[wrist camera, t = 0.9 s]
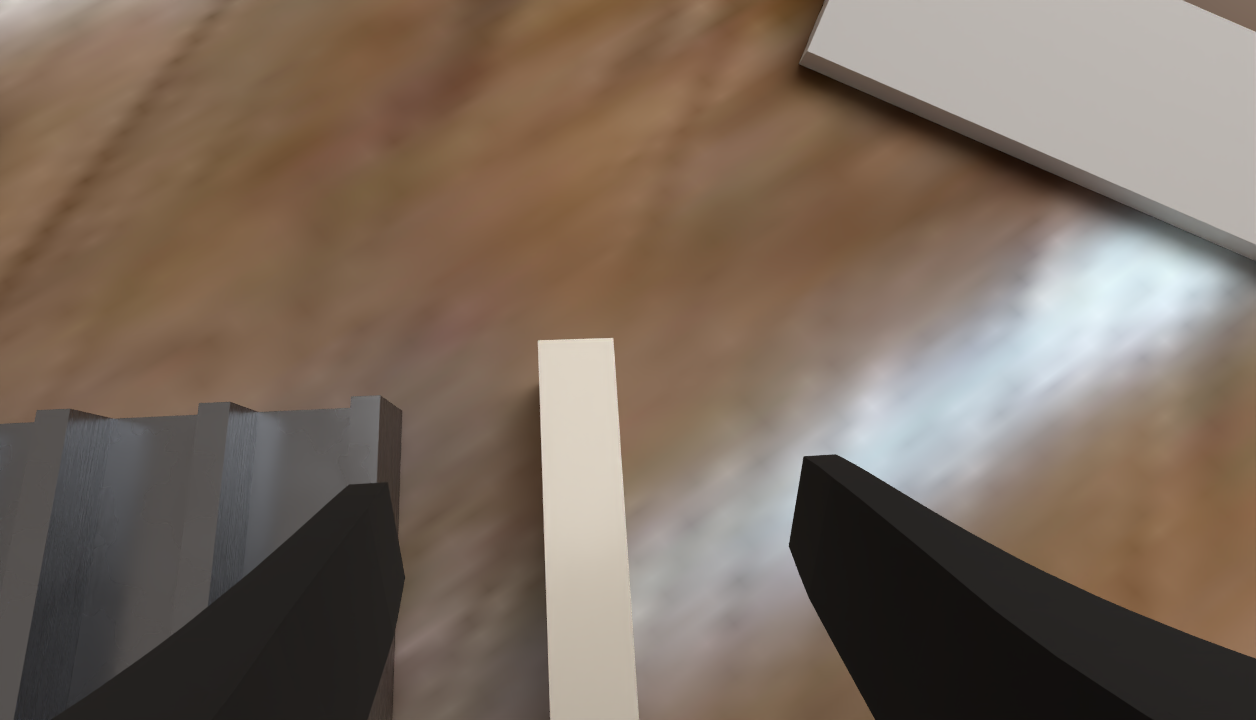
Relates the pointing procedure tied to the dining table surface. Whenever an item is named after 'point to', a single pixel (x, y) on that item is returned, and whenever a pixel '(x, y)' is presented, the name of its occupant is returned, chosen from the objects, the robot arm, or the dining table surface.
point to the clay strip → (585, 534)
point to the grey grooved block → (158, 528)
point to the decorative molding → (1074, 93)
